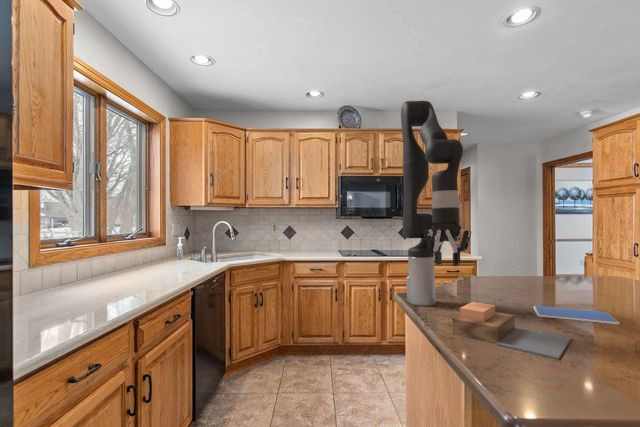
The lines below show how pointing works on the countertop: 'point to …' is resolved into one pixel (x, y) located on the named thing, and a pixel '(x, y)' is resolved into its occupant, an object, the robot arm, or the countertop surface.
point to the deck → (485, 327)
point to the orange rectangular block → (477, 311)
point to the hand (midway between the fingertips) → (447, 264)
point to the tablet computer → (575, 314)
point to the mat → (535, 342)
